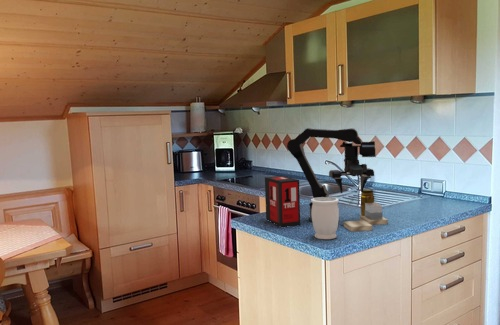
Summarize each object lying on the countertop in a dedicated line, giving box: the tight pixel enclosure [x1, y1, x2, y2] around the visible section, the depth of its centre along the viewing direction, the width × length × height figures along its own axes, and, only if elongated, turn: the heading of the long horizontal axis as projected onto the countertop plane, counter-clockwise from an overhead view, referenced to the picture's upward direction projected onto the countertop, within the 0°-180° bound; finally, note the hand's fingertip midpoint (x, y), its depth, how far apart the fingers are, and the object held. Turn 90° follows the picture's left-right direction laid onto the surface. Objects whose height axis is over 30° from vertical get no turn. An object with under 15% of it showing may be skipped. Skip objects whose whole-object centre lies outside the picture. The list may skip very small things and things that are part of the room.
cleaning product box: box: [264, 175, 301, 228], centre depth 197 cm, size 16×9×20 cm, turn 22°
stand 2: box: [359, 215, 389, 226], centre depth 193 cm, size 9×9×2 cm
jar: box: [310, 196, 340, 240], centre depth 172 cm, size 11×10×15 cm
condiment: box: [358, 188, 375, 216], centre depth 206 cm, size 7×8×12 cm
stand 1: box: [343, 220, 373, 233], centre depth 184 cm, size 9×9×2 cm
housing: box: [365, 202, 384, 220], centre depth 192 cm, size 5×7×6 cm
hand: (351, 192), depth 194 cm, fingers open, 9 cm apart
